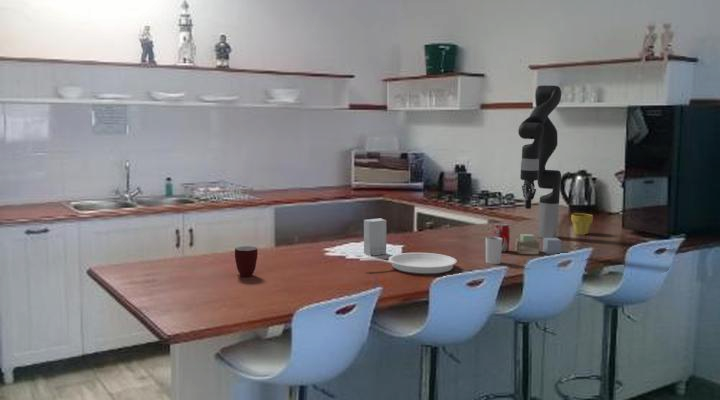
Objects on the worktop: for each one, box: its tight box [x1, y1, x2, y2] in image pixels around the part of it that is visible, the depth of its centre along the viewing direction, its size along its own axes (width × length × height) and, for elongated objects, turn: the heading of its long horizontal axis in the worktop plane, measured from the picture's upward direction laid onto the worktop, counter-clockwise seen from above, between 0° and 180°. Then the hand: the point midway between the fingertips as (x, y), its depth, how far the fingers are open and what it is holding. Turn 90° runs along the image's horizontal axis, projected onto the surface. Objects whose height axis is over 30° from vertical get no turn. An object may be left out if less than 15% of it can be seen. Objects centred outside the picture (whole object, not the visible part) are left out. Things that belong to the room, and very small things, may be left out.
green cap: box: [519, 233, 536, 242], centre depth 287 cm, size 5×5×5 cm
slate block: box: [542, 237, 562, 255], centre depth 288 cm, size 6×6×6 cm
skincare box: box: [363, 217, 387, 256], centre depth 278 cm, size 8×6×15 cm
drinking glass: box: [485, 236, 502, 265], centre depth 265 cm, size 7×7×10 cm
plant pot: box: [570, 212, 594, 236], centre depth 336 cm, size 10×10×10 cm
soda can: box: [492, 222, 511, 253], centre depth 289 cm, size 7×7×12 cm
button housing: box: [514, 238, 540, 255], centre depth 287 cm, size 8×8×5 cm
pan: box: [359, 252, 458, 275], centre depth 253 cm, size 26×39×5 cm
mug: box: [234, 245, 258, 278], centre depth 239 cm, size 11×8×10 cm
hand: (528, 208), depth 287 cm, fingers closed
